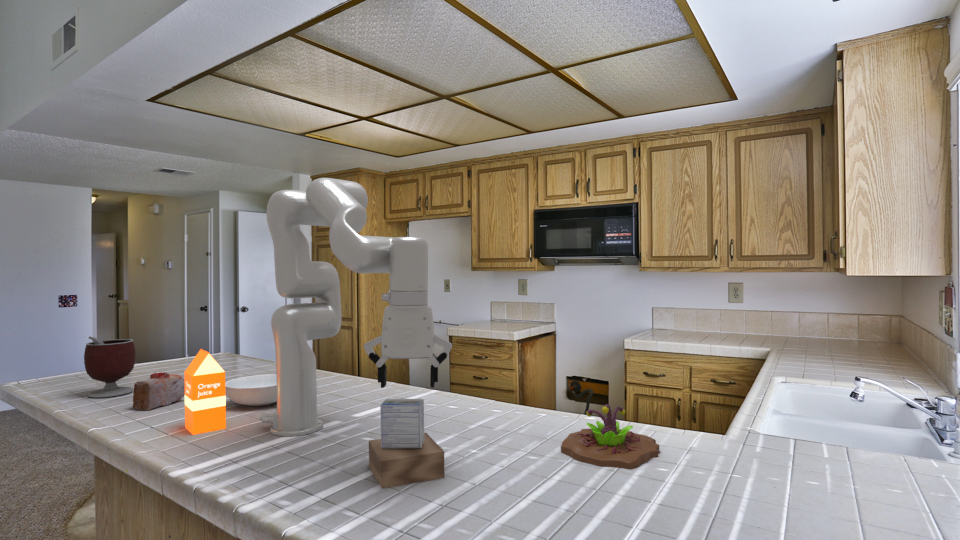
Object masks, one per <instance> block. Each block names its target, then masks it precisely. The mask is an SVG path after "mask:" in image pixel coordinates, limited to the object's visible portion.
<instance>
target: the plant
mask: <svg viewBox="0 0 960 540" xmlns="http://www.w3.org/2000/svg"><path fill="white" fill-rule="evenodd" d="M601 411H602V412H599V411H598V410H595V409H588V410H586V413H585V414H586V416H587V417H592V416H593V413H594V414H596V415H598V417H599V418H600V419H601V421H603V423H602V422H601V421H599V420H596V421H595V423H596V425H595V424H593V423H590V422H586V423H585V424H586V426H588V427H589V428H581V429H580V431H576V432H575V431H574V432H571V433H569V434H568V435H567V436H566V437H565V438H564V440H563V441H562V443H561V445H560V453H561V454H563V455H565V456H568V457H570V458H572V460H575V461H577V462H581V463H585V464H589V465H593V466H597V467H603V468H604V467H606V468H607V467H609V468H610V467H611V468H618V469H619V468H620V469H625V470H633V469H636V468H638V467H640V466H641V465H643V464H646V463H647V462H648V461H650V460H651V459H653V457H654V458H659V453H660V445H659V444H658V443H657V441H656V439H655V438H653V437H650V436H648V435H646V434H639V433H636V432H633V431H630V430H631V429H633V428H634V426H633V425H627V426H625V427H623V428H621V429H620V422H619V421H617V414H618V411H619V414H620V415H622V416H624V415H625V414H626V410H625V409H624V408H623V407H622V406H621V407H620V406H616V408H614V410H613V412H612V409H611V406H610V404H608V403H607V404H605V405H603V407H602V408H601ZM602 413H603V414H606V417H605V416H604V415H603V414H602Z"/></svg>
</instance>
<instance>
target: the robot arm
mask: <svg viewBox="0 0 960 540" xmlns="http://www.w3.org/2000/svg"><path fill="white" fill-rule="evenodd" d="M368 203H369V197H368V194H367V191H366V189H365V187H364V186H362V185H361V184H360V183H358V182H356V181H353V180H352V181H351V180H345V179H339V178H331V177H319V178H316V179H313V180H312V181H310V182H309V183H308V185H307V187H306V188H305V190H300V189H282V190H278V191H276V192H275V191H274V193H273V194H272V195H271V196H270V197H269V199H268V202H267V204H266V205H267V206H266V222H267V227H268V230H269V232H270V236H271V240H272V244H273V258H274V259H273V260H274V275H275V278H274V279H275V287H276V290H277V294H278V295H279V296H280V297H282V298H285V299H306V298H307V299H309V298H311V299H312V298H315V302H304V303H303V302H302V303H289V304H286V305H282V306H280V307H278V308H276V310H274V312H273V313H272V316H271V320H270V321H271V322H270V323H271V324H270V325H271V330H272V337H273V341H274V342H273V343H274V347H275V368H276V380H277V402H276V411H274V412H273V413H270V412H262V413H260V417H259V419H260V422H261V424H268V423H271V424H272V425H271V426H270V428H269V429H270V431H269V432H270V433H271V434H272V435H274V436H277V437H298V436H304V435H310V434H313V433H315V432H317V431H318V432H319V430H321V429H322V428H323V427H324V420H323V419H322V418H321V419H320V418H318V414H317V413H318V409H317V408H318V404H317V402H318V399H317V395H318V392H317V390H318V389H317V357H316V355H315V352H314V351H313V349H312V348H311V347H310V345H309V343H308V341H314V340H319V339H327V338H332V337H335V336H336V335H337V334H338V333H340V330H341V326H342V322H343V321H342V302H341V300H342V299H341V285H340V277H339V273H338V270H337V269H336V267H335V266H334V265H333V264H332V263H330V262H327V261H324V260H323V261H321V260H318V261H317V260H315V261H313V260H312V259H311V255H310V243H309V241H308V239H307V237H306V236H305V234H304V233H303V231H302V230H301V229H300V228H299V227H298V226H299V225H301V226H312V227H313V226H315V227H329V232H328V238H329V239H328V240H329V245H330V248H331V251H332V254H333V255H334V256H335V258H336V259H338V261H339V262H340V263H341V264H342V265H343V266H344V267H345V268H346V269H348V270H350V271H352V272H354V273H356V274H388V275H389V278H388V279H389V285H388V286H389V287H388V288H389V290H388V291H387V292H386V293H382V294H381V301H385V302H387V303H388V306H385V307H384V311H383V317H382V325H381V335H379V336H378V337H375V338H373V339H371V340H369V341H367V342H365V343H364V344H363V348H364V351H365V353H366V354H367V356H368V358H369V360H371V362H372V363H374V364H375V367H377V383H380V388H381V389H384V388H385V387H386V386H387V365H386V361H388V359H389V360H390V359H392V360H395V359H396V360H397V359H398V360H401V359H402V360H408V359H409V360H412V359H413V360H416V359H417V360H418V359H419V360H422V359H424V360H425V359H427V360H428V361H429V363H431V365H430V387H429V388H435V383H438V382H439V366H440V365H441V364H442V363H443V362H444V361H446V359H447V357H448V355H449V353H450V352H451V350H452V348H453V344H452V343H451V342H450V341H448V340H446V339H444V338H443V337H440V336H438V335H436V334H435V329H434V328H435V326H434V316H433V315H434V314H433V309H432V306H430V305H429V302H428V301H429V297H428V296H429V294H428V293H429V290H428V289H429V286H428V285H429V244H428V241H427V240H426V238H423V237H418V236H397V237H392V236H380V235H379V236H377V235H373V236H372V235H361V234H359V233H360V232H361V231H362V230H363V229H364V227H365V226H366V224H367V220H368V213H367V208H368ZM380 344H381V345H380ZM435 344H437V345H439V346H441V347H442V348H443V350H442V352H440V354H439V355H438V356H436V354H435V353H434V352H435ZM377 345H380V346H381V347H380V350H381V356H379V354H377V353H376V352H375V350H374V347H376V346H377Z"/></svg>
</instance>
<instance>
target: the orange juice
mask: <svg viewBox="0 0 960 540" xmlns="http://www.w3.org/2000/svg"><path fill="white" fill-rule="evenodd" d="M183 373H184V381H185V395H184V428H185V429H186V430H187V431H188V432H189V433H190V434H191V435H192V436H194V435H200V434H205V433H210V432H211V433H212V432H216V431H220V430H226V429H227V414H226V413H227V409H226V406H227V396H226V392H225V382H226V371H225V370H224V368H222V366H221V365H220V364H219V362H217V360H216V359H215V358H214V357H213V356H212V355H211V353H210V352H209V351H207V350H204V349H203V348H200V349H199V351H198V352H197V353H196V355H195V357H194V358H193V359H192V360H191V362H190V363H189V365H188V367H187V368H186V369H185V370H184V372H183Z"/></svg>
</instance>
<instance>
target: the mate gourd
mask: <svg viewBox="0 0 960 540" xmlns="http://www.w3.org/2000/svg"><path fill="white" fill-rule="evenodd" d="M88 340H92V341H90V342H89V341H88V342H86V343H85V348H84V353H83V364H84V368H85V369H84V370H85V372H86V374H87V375H88V376H89V377H90V378H91V379H92V380H95V381H98V382H101V383H102V382H103V383H105V385H104V386H103V388H100V389H95V390H93V391H89V392H88V393H87V397H89V398H110V397H115V396H122V395H126V394H129V393H131V392H134V387H131V386H118V384H117V382H118V381H119V380H121V379H123V378H125V377H127V376H129V375H130V374H131V372H132V371H133V370H134V368H135V363H136V347H135V343H134V339H132V338H130V339H129V338H124V339H123V338H121V339H119V338H118V339H117V338H116V339H106V340H105V339H104V340H101V339H99V338H97V337H94V336H88Z"/></svg>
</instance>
